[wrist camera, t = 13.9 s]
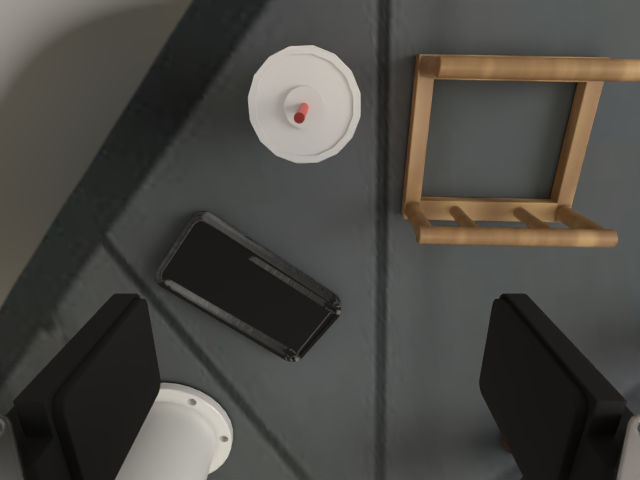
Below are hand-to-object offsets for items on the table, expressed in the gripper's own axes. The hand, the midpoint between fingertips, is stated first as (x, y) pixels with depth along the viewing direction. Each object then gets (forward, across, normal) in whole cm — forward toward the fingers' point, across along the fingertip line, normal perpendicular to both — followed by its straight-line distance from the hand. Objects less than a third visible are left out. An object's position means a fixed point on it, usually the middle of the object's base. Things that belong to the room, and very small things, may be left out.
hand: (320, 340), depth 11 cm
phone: (+23, -6, -11) cm, 26 cm away
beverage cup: (+23, -1, +5) cm, 24 cm away
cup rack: (+23, +13, +2) cm, 27 cm away
